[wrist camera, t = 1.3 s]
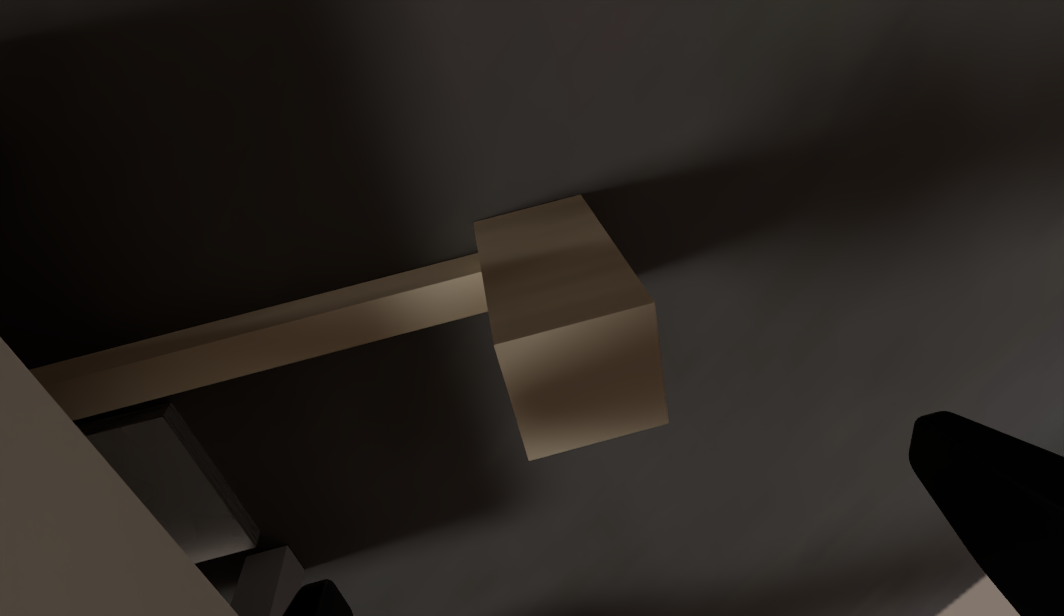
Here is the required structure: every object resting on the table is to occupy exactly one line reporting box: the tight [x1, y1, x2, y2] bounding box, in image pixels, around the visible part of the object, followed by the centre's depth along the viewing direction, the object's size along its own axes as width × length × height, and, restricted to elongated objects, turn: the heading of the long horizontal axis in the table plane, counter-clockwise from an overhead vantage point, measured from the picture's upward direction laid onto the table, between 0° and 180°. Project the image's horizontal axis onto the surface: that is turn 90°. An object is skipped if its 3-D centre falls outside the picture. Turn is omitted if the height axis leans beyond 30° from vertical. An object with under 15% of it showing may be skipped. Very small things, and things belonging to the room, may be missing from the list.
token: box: [76, 402, 261, 564], centre depth 18 cm, size 6×6×1 cm
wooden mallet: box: [29, 194, 669, 461], centre depth 15 cm, size 10×21×6 cm, turn 102°
